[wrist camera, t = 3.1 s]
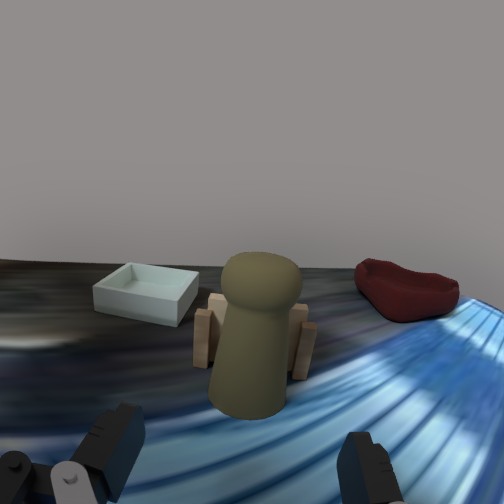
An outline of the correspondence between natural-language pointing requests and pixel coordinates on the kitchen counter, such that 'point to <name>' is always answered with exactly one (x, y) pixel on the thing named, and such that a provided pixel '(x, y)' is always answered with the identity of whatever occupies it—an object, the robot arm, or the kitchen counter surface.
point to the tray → (147, 293)
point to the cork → (254, 335)
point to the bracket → (211, 326)
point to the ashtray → (405, 291)
